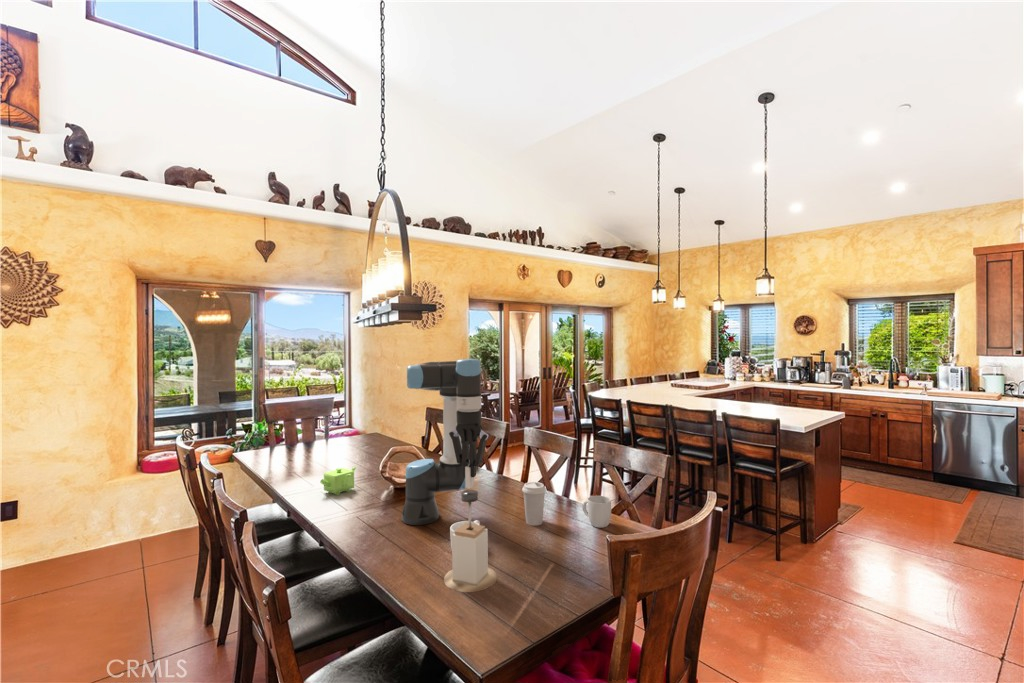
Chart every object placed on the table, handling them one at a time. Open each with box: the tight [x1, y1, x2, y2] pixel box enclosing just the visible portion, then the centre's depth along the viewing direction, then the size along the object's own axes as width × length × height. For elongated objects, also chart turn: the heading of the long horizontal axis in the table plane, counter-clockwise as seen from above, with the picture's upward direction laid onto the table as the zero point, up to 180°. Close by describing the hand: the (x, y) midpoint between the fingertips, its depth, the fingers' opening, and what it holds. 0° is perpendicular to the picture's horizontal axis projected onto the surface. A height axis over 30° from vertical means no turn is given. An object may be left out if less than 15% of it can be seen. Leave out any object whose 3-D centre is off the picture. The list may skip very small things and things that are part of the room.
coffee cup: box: [521, 481, 547, 527], centre depth 186 cm, size 10×10×15 cm
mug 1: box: [449, 520, 481, 551], centre depth 164 cm, size 13×10×8 cm
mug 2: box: [582, 495, 612, 529], centre depth 185 cm, size 13×9×10 cm
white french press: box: [451, 523, 489, 587], centre depth 142 cm, size 8×8×15 cm
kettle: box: [319, 466, 358, 496], centre depth 226 cm, size 15×14×11 cm
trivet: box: [443, 567, 498, 593], centre depth 142 cm, size 16×16×1 cm
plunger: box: [461, 489, 479, 530], centre depth 142 cm, size 6×6×15 cm
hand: (469, 487), depth 142 cm, fingers closed
